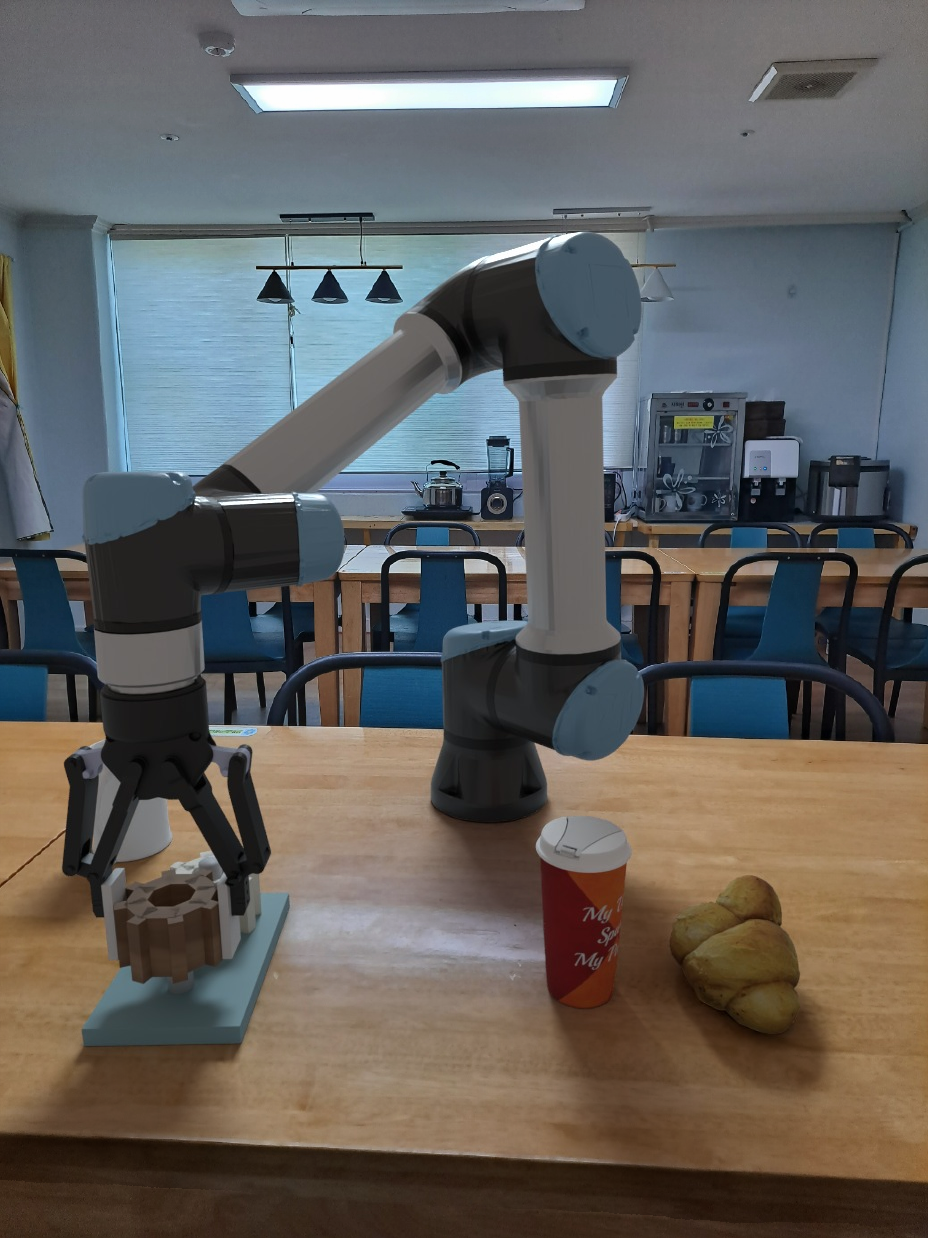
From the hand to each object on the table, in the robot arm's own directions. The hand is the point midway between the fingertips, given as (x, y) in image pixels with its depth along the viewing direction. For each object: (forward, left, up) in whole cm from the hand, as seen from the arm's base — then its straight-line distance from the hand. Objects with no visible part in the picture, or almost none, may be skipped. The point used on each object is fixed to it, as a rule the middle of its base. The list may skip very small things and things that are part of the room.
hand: (176, 949), depth 65 cm
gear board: (0, -5, -5) cm, 7 cm away
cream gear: (0, -10, -4) cm, 10 cm away
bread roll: (-46, 0, -5) cm, 46 cm away
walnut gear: (0, 0, 0) cm, 0 cm away
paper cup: (-33, -1, -5) cm, 34 cm away
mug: (+15, -26, -5) cm, 31 cm away
